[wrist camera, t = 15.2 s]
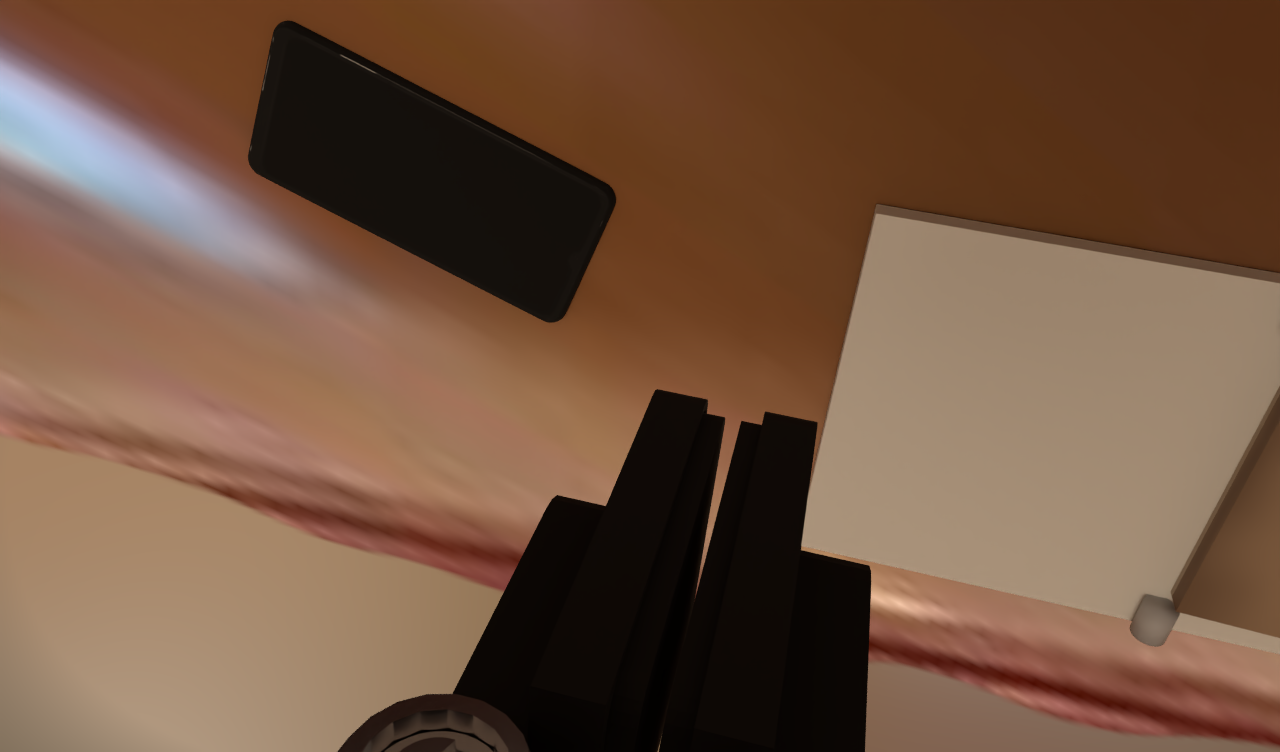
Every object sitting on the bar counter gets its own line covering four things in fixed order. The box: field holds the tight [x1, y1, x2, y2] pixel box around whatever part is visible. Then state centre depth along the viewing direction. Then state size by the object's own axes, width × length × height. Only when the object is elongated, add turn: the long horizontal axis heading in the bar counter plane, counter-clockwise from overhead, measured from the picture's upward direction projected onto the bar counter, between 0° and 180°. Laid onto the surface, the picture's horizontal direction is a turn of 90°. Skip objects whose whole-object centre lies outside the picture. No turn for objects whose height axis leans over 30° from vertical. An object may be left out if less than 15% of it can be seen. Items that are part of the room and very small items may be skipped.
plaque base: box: [801, 204, 1280, 654], centre depth 37 cm, size 30×16×2 cm, turn 84°
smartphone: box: [248, 21, 616, 322], centre depth 39 cm, size 7×1×15 cm
